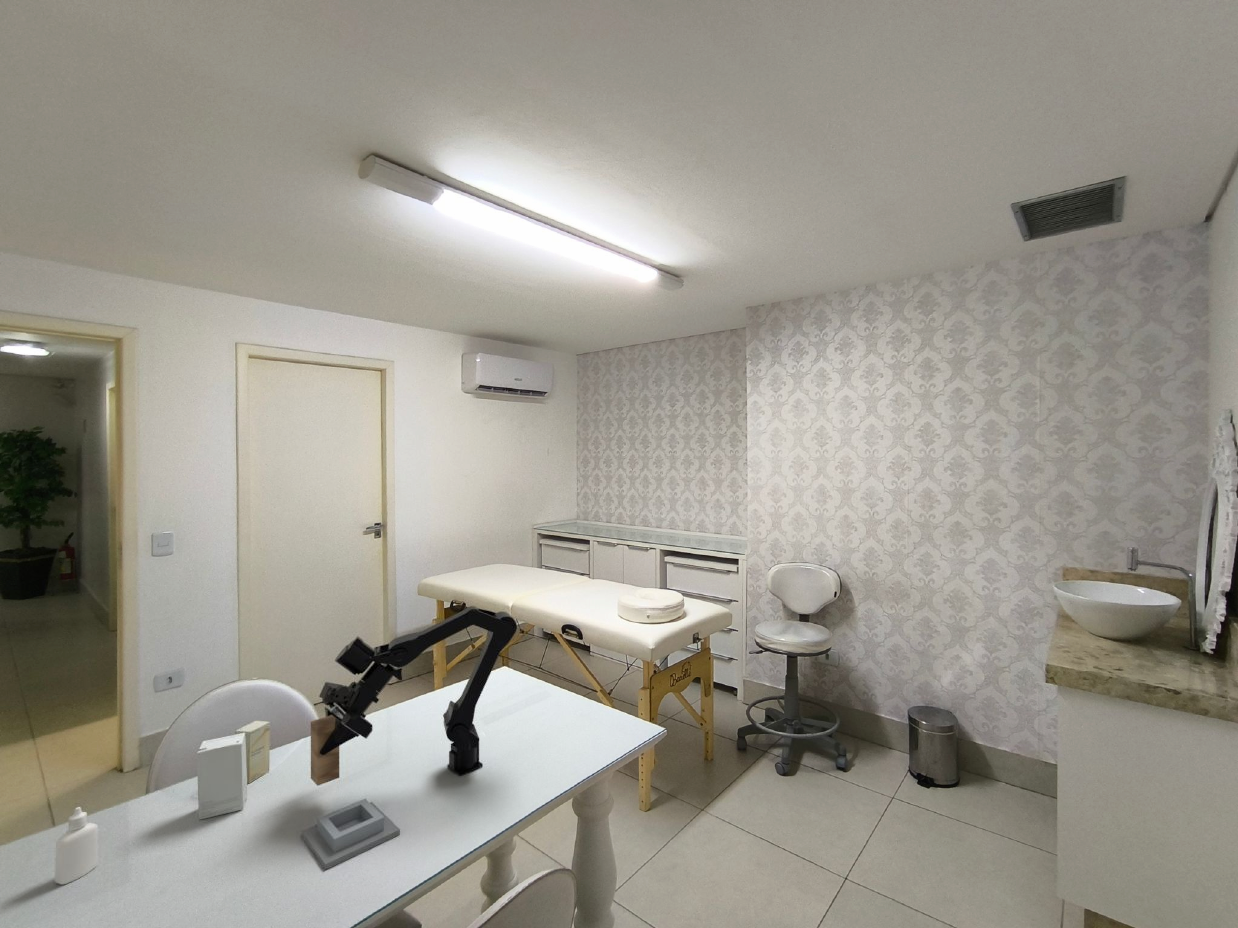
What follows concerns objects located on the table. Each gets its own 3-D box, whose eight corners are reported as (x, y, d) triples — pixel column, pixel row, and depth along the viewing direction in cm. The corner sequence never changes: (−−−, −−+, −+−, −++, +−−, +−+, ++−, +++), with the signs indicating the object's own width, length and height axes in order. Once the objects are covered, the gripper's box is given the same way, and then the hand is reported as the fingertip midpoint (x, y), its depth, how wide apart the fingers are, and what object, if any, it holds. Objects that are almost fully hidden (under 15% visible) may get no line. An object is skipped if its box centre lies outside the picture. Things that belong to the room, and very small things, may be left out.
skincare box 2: (248, 784, 131) (249, 732, 132) (233, 782, 132) (233, 730, 132) (270, 770, 137) (271, 721, 138) (255, 768, 138) (255, 719, 139)
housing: (371, 806, 122) (371, 790, 122) (399, 834, 112) (399, 816, 112) (301, 835, 112) (301, 818, 112) (325, 869, 102) (325, 850, 102)
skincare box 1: (247, 797, 126) (248, 730, 126) (242, 811, 120) (243, 742, 121) (202, 806, 122) (203, 738, 123) (195, 821, 117) (196, 750, 117)
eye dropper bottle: (55, 876, 101) (56, 809, 101) (97, 861, 105) (98, 796, 105) (54, 888, 98) (55, 819, 98) (98, 872, 102) (99, 806, 102)
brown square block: (332, 770, 126) (332, 714, 127) (339, 777, 123) (339, 720, 123) (310, 778, 123) (310, 721, 123) (317, 785, 120) (317, 727, 120)
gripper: (332, 658, 133) (279, 718, 125) (357, 678, 119) (299, 747, 112) (366, 682, 138) (317, 742, 131) (394, 704, 125) (341, 772, 117)
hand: (318, 749), depth 122 cm, fingers closed on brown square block, 5 cm apart
